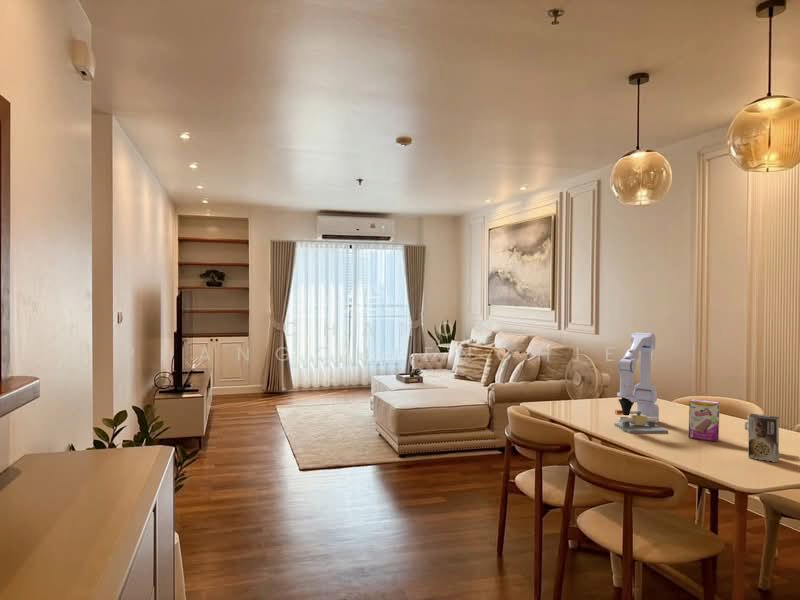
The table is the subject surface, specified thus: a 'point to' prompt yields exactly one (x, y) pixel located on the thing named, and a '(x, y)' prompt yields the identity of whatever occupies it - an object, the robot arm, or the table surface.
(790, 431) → the table surface
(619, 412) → the valve lever
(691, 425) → the candy bar box
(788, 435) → the table surface
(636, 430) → the valve board
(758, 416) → the coffee box
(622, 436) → the table surface
